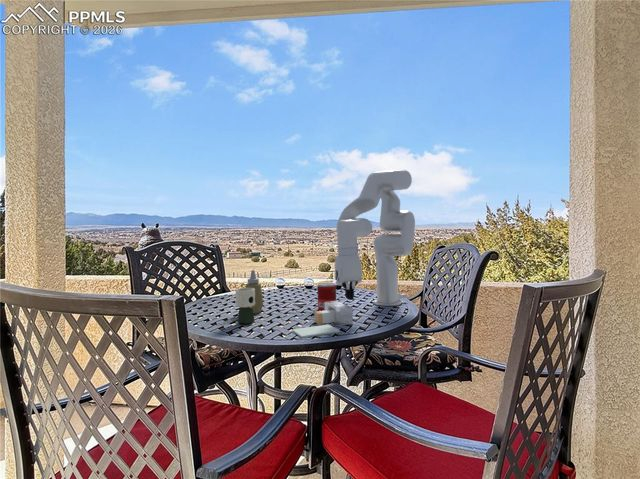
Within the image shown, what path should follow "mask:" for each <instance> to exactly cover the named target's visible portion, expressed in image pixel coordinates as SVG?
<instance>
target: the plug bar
mask: <svg viewBox="0 0 640 479" xmlns="http://www.w3.org/2000/svg"><path fill="white" fill-rule="evenodd" d="M332 322H334V323H336V309H332V310H324V311H321V310H317V311H314V323H316V324H317V323H318V324H317V325H325V324H324V323H326V324H331V323H332ZM332 324H333V323H332Z"/></svg>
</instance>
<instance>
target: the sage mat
mask: <svg viewBox="0 0 640 479" xmlns="http://www.w3.org/2000/svg"><path fill="white" fill-rule="evenodd" d="M291 330H292V332H293V333H294V334H296V335H297V336H298V337H299V338H301V339H305V338H311V337H316V336H317V335H318V336H324V334H325V335H331V333H332V334H337V333H341V330H340V329H338V328H336V327H334V326H332V325H331V324H330V323H327V324H320V325H315V326H307V327H301V328H294V329H291ZM310 336H311V337H310ZM318 336H317V337H318Z"/></svg>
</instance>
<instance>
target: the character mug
mask: <svg viewBox="0 0 640 479" xmlns="http://www.w3.org/2000/svg"><path fill="white" fill-rule="evenodd" d="M254 305H255V289H254V288H245V287H241V288H236V289H235V307H238V312H237V314H238V315H237V323H238V324H243V325H246V324H253V323H254V321H255V314H253V309H252V306H254Z"/></svg>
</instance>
